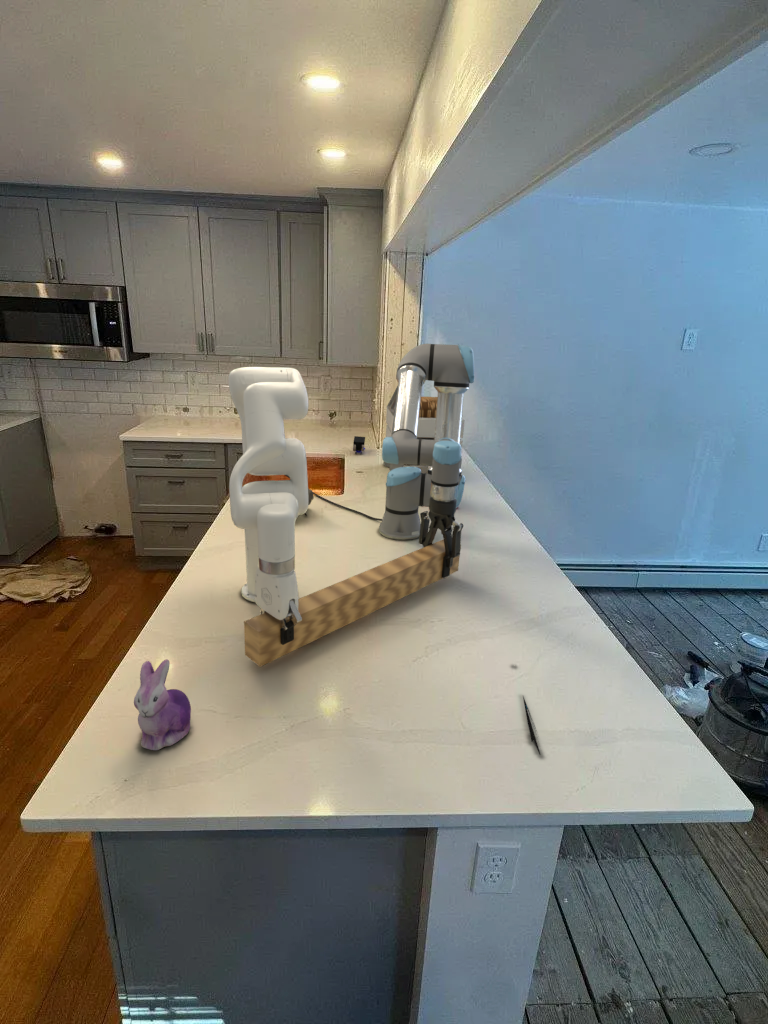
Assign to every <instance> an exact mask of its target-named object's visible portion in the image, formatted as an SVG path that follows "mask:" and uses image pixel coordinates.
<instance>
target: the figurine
mask: <svg viewBox="0 0 768 1024" xmlns="http://www.w3.org/2000/svg"><path fill="white" fill-rule="evenodd" d="M170 665H171V664H170V659H168V658H166V659H164V660H162V661H161V663H159V664H158V666H157V668H156V669H154V667H153V664H152V662H151V661H150V660H146V661H144V662H143V663H142V665H141V668H140V673H139V682H140V685H139V688H138V689H137V691H136V694H135V696H134V698H133V705H134V707H135V709H136V710H137V711H138V716H137V724H138V727H139V729H140V730H141V733H142V736H141V742H140V745H141V747H142V748H143V749H147V750H150V751H159V750H160V749H163V748H164V747H165V748H166V747H170V746H173V745H174V744H177V743H178V742H179V741H181V740H182V739H183V738H184V737H185V736H186V735H188V734H189V732H190V729H191V718H192V716H191V715H192V707H191V702H190V700H189V698H188V695H187V694H186V693H185V692H184V691H182V690H180V689H176V688H171V689H167V688H166V685H165V684H166V680H167V677H168V674H169V670H170Z"/></svg>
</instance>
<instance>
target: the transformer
mask: <svg viewBox="0 0 768 1024" xmlns="http://www.w3.org/2000/svg"><path fill="white" fill-rule="evenodd" d="M397 390H398V385H397V386H396V388H395V390H394V392H393V394H392V395H391V398H390V400H389V402H388V404H387V405H386V413H385V414H386V415H385V423H386V428H385V437H391V435H392V427H393V420H394V412H395V405H396V398H397ZM437 397H438V396H421V401H420V411H419V421H418V431H417V439H423V440H434V437H435V424H436V410H437ZM464 429H465V419H464V418H462V421H461V433H460V445H461V447H462V449H461V453H463V442H464V441H463V440H462V439H463V438H464V431H465V430H464ZM462 461H463V460H462V457H461V462H460V469H461V470H462ZM383 466H384V467H388V468H389V472H390V471H391V470H393V469H395V468H399V467H405V466H406V467H417V466H418V467H421V466H420V465H407V464H392V463H386V462H384V461H383Z"/></svg>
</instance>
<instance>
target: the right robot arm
mask: <svg viewBox="0 0 768 1024" xmlns="http://www.w3.org/2000/svg"><path fill="white" fill-rule="evenodd" d="M395 379H396V382H397V386H398V390H397V398H396V405H395V412H394V420H393V427H392V435H391V437H386V436H385V437H384V438H383V439H382V445H381V446H382V447H381V457H382V459H381V460H382V461H383V463H384V462H386V463H392V464H407V465H420V466H418V467H417V466H407V465H406V466H404V467H399V468H395V469H393V470H391V471H390V470H389V471H388V473H387V475H386V482H385V487H386V488H385V489H386V490H385V504H384V505H385V507H384V508H385V509H384V513H383V515H382V518H377V517H373V516H370V515H368V514H366V513H363V512H361V511H358V510H356V509H353V508H349V507H346V506H344V505H341V504H339V503H336V502H333V501H332V500H329V499H327V498H325V497H322V496H321V495H320V494H318V493H315V492H314V491H312V492H313V496H316V497H317V498H319V499H322V500H323V501H325V502H327V503H330V504H332V505H334V506H337V507H338V508H341V509H345V510H348V511H351V512H353V513H356V514H359V515H362V516H364V517H366V518H368V519H371V520H374V521H379V526H378V533H379V534H380V535H381V536H382V537H385V538H387V539H389V540H395V541H410V540H415V539H418V544H419V545H421V546H423V547H422V548H424V547H426V546H428V545H431V544H433V543H434V541H435V537H436V536H437V533H438V530H440V533H441V535H442V538H443V539H444V546H445V552H446V556H444V558H443V569H442V579H445V578H447V577H450V576H451V574H450V567H452V565H453V558H455V557H457V556H459V555H460V556H461V549H460V546H461V547H462V543H461V542H462V531H463V528H464V524H463V522H460V523H459V522H458V521H456V517H455V513H456V511H457V509H458V508H459V507H460V505H461V502H462V499H463V495H464V490H465V484H466V476H465V475H463V474H462V472H463V470H462V468H461V469H460V462H461V458H462V457H463V455H462V453H463V452H462V453H461V449H462V450H463V446H462V447H461V445H460V439H461V438H460V433H461V421H462V419H463V408H464V398H465V397H464V396H465V393H466V392H467V391H468V390H469V389H470V384H474V383H475V358H474V350H473V348H472V347H470V346H469V345H463V344H462V345H461V344H443V343H439V344H438V343H421V344H418V345H417V346H414V347H413V348H411V349H410V350H409V351H407V353H405V355H404V356H403V357H402V358H401V360H400V361H399V364H398V366H397V369H396V374H395ZM426 381H428V382H429V381H430V382H431V381H432V382H433V388H434V389H435V391H436V392H437V396H436V397H437V410H436V424H435V437H434V440H423V439H417V431H418V421H419V411H420V401H421V397H422V390H423V386H424V384H425V383H426ZM461 463H462V462H461ZM420 467H427V472H422V469H421V468H420ZM284 476H285V477H287V478H288V479H290V477H289V476H288V475H284ZM420 507H421V508H422V507H424V508H428V510H425V511H423V512H420V513H419V508H420ZM457 507H458V508H457ZM443 539H442V540H443Z"/></svg>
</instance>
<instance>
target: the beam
mask: <svg viewBox="0 0 768 1024" xmlns="http://www.w3.org/2000/svg"><path fill="white" fill-rule="evenodd" d="M461 549H462V545H461V546H460V550H461ZM444 556H446V552H445V546H444V539H440V540H438V541H436V542H433V543H432V544H431V545H428V546H426V547H421V548H418V549H416V550H414V551H411V552H409V553H407V554H404V555H402V556H399V557H397V558H393V559H392V560H389V561H387V562H385V563H382V564H380V565H377V566H375V567H373V568H370V569H367V570H365V571H362V572H360V573H358V574H356V575H353V576H351V577H348V578H346V579H343V580H341V581H338V582H336V583H333V584H331V585H329V586H326V587H324V588H322V589H319V590H317V591H314V592H312V593H310V594H307V595H304V596H302V597H298V611H299V614H300V616H301V618H302V621H300V622H299V623H297V624H296V625H295V626H294V640H293V641H290V642H288V643H286V644H284V645H282V644H281V637H280V629H281V628H282V624H281V620H279V619H277V618H275V617H273V616H272V615H270V614H269V613H267V612H265V613H263V614H261V613H260V614H258V615H255V616H254V617H251V618H249V619H246V620H244V621H243V635H244V655H245V656H246V657H247V658H249V660H251V661H252V662H253V663H255V664H256V665H257V666H258V667H260V668H261V667H263V666H265V665H267V664H270V663H272V662H273V661H276V660H278V659H279V658H282V657H284V656H286V655H288V654H290V653H292V652H294V651H296V650H298V649H300V648H303V647H305V646H306V645H309V644H310V643H313V642H315V641H316V640H318V639H320V638H323V637H325V636H327V635H329V634H332V633H333V632H335V631H338V630H339V629H341V628H343V627H345V626H347V625H349V624H351V623H354V622H356V621H357V620H361V619H362V618H364V617H366V616H368V615H370V614H372V613H374V612H377V611H378V610H381V609H382V608H385V607H387V606H389V605H390V604H393V603H395V602H397V601H399V600H401V599H403V598H406V597H407V596H409V595H411V594H413V593H416V592H417V591H419V590H422V589H423V588H425V587H427V586H430V585H431V584H433V583H436V582H438V581H440V580H442V579H443V578H442V569H443V558H444ZM460 557H461V554H460V555H459V556H457V557H455V558H453V565H452V567H450V575H452V574H454V573H456V572H458V571H459V565H460ZM285 619H286V623H287V622H288V621H290V619H289V617H286V618H285Z"/></svg>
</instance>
